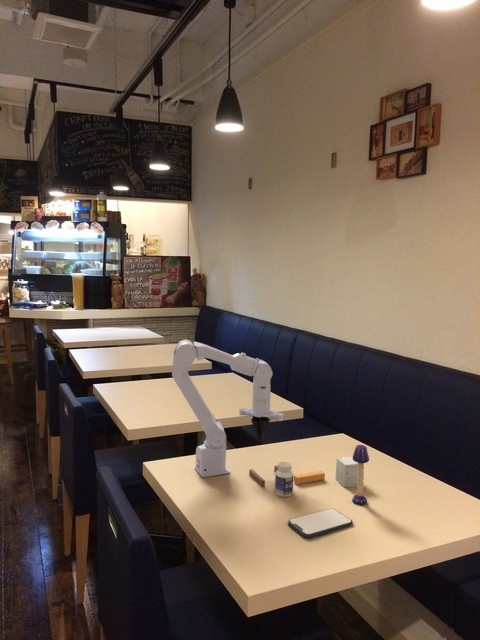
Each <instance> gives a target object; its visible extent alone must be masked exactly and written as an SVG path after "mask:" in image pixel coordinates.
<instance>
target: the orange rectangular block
mask: <svg viewBox="0 0 480 640" xmlns="http://www.w3.org/2000/svg"><path fill="white" fill-rule="evenodd" d="M325 475H326V473H325V472H324V471H323V470H317V471H313V472H307V473H306V472H305V473H300V474H293V483H294V484H295V485H300V484H305V483H310V482H311V483H312V482H316V481H323V480H325Z"/></svg>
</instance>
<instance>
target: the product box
mask: <svg viewBox="0 0 480 640" xmlns="http://www.w3.org/2000/svg"><path fill="white" fill-rule="evenodd" d="M335 466H336V467H335V478H334V479H335V481H337V482H338V483H339V484H340V485H341V486H342V487H343V488H351V487H357V486H358V485H357V481H358V480H357V476H358V474H357V472H358V462H355V461H354V460H353V456H342V457H336V465H335Z"/></svg>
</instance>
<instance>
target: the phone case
mask: <svg viewBox="0 0 480 640" xmlns="http://www.w3.org/2000/svg"><path fill="white" fill-rule="evenodd" d="M353 524H354V523H353V520H352V519H351V518H349V517H347V516H346V515H345V514H343V513H342V512H339V510H337V509H334V508H328V509H325V510H324V509H323V510H321V511H317V512H313V513H310V514H306V515H303V516H298V517H294V518H290V519H288V521H287V526H288V527H289V528H290V529H291V530H293V531H294V532H295V533H297V534H298V536H300V537H302V538H303V539H304V540H312V539H315V538H318V537H321V536H324V535H328V534H330V533H334V532H337V531H339V530H343V529H346V528H349V527H352V526H353Z"/></svg>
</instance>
